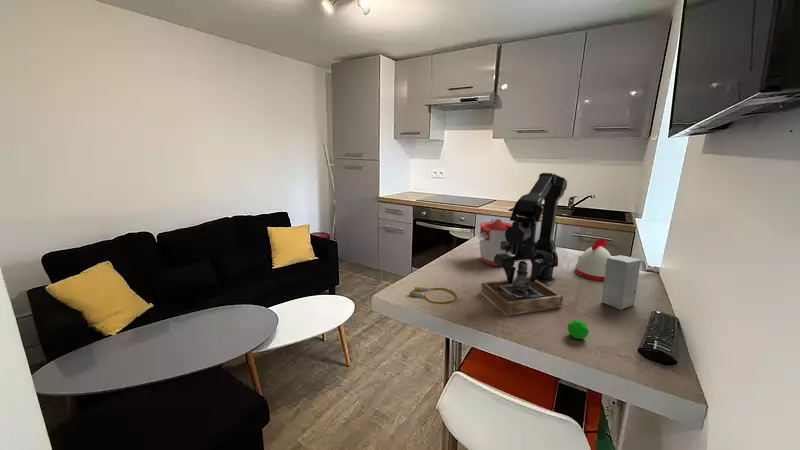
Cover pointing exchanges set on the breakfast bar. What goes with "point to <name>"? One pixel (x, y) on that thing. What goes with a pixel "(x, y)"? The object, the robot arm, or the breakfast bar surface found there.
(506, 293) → the inlet collar
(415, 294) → the extension cord
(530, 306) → the walled box
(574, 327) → the polyhedron
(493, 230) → the citrus juicer
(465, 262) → the breakfast bar surface
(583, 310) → the breakfast bar surface
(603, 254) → the white chicken dome
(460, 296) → the breakfast bar surface
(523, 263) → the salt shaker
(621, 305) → the skincare box
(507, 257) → the robot arm
